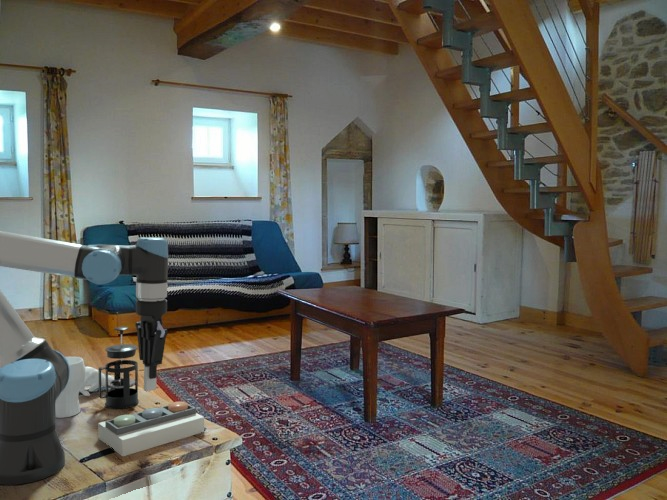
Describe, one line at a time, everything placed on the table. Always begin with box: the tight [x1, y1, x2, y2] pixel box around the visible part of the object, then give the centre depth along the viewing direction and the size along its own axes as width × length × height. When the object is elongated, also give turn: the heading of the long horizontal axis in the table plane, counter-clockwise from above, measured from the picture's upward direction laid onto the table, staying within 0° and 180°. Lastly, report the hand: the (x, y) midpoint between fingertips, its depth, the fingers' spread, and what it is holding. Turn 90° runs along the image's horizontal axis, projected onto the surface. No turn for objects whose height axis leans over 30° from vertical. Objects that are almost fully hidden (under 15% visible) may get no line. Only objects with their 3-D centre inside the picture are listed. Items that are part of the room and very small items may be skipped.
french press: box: [98, 326, 140, 410], centre depth 166 cm, size 12×9×23 cm
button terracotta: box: [168, 401, 189, 413], centre depth 150 cm, size 5×5×2 cm
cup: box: [55, 356, 86, 419], centre depth 158 cm, size 11×11×15 cm
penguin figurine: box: [79, 366, 114, 397], centre depth 177 cm, size 6×8×12 cm
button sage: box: [113, 414, 135, 428], centre depth 140 cm, size 5×5×2 cm
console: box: [97, 401, 205, 457], centre depth 145 cm, size 22×14×6 cm, turn 135°
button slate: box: [141, 407, 162, 420], centre depth 145 cm, size 5×5×2 cm
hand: (150, 389), depth 144 cm, fingers closed
